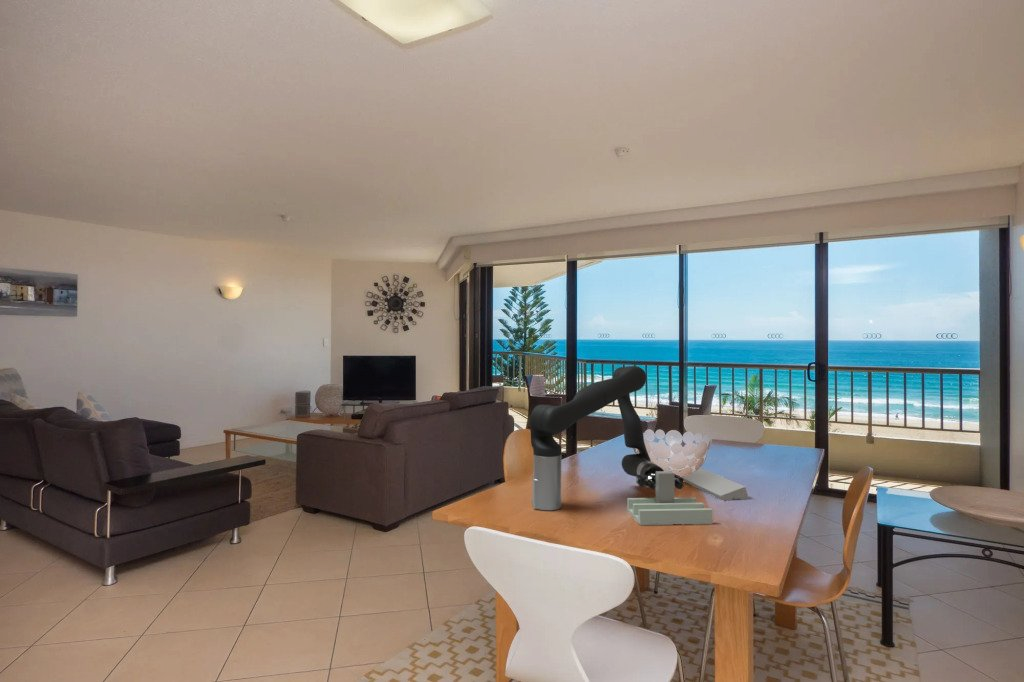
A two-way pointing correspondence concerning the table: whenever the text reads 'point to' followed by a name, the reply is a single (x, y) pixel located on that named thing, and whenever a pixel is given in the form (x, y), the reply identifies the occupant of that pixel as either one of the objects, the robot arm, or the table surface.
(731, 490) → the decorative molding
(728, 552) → the table surface
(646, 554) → the table surface
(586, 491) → the table surface
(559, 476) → the robot arm
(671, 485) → the grey rectangular block
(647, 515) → the pale green ridged block
